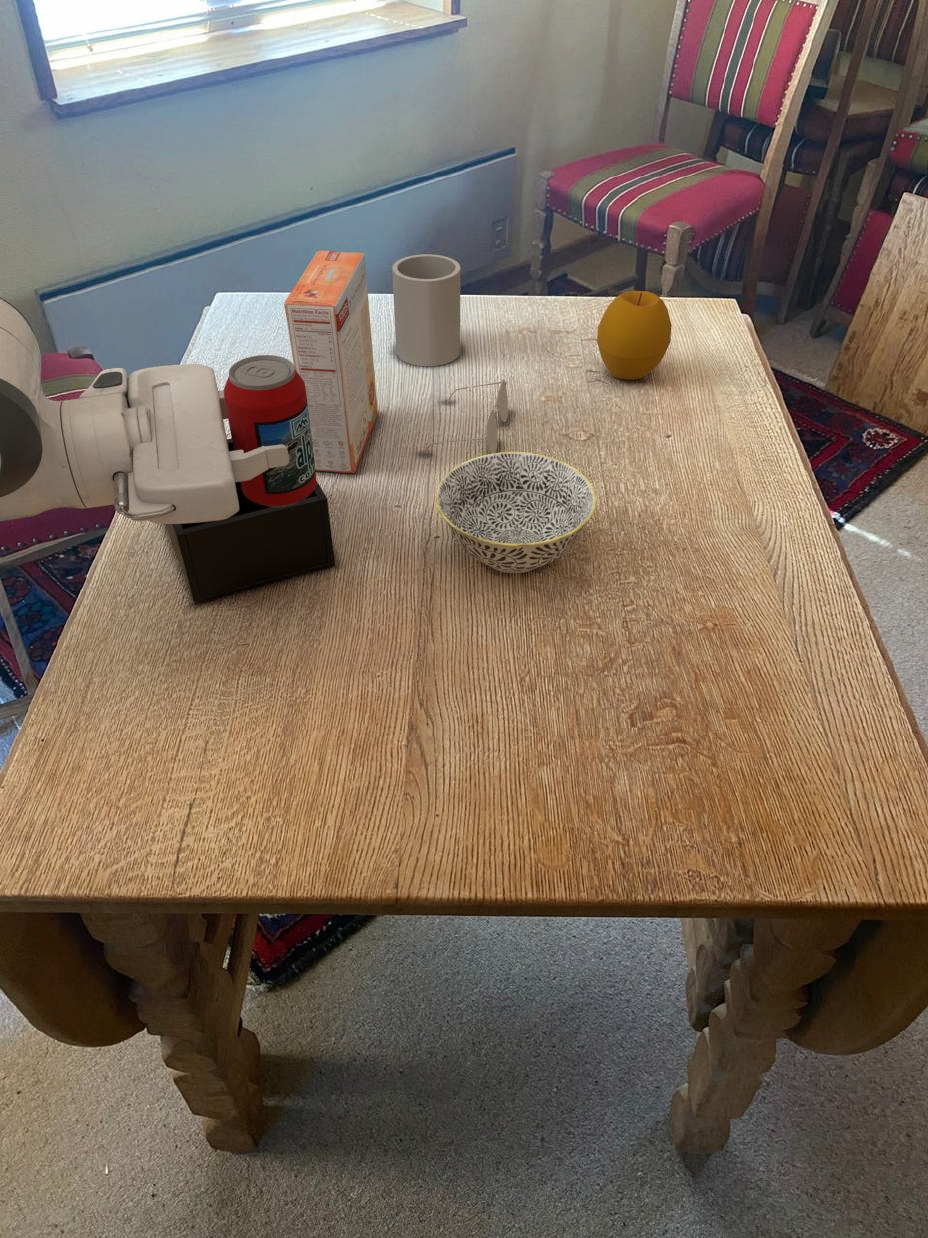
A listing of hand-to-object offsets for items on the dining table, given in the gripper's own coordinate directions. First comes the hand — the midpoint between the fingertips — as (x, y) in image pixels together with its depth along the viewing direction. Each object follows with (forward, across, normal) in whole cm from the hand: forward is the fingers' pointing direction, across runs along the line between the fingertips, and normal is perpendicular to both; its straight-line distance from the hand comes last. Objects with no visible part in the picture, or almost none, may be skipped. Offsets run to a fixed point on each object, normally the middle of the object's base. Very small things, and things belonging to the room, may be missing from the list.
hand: (280, 426), depth 78 cm
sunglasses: (+24, +25, +19) cm, 40 cm away
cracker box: (+9, +27, +19) cm, 34 cm away
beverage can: (-1, 0, +7) cm, 7 cm away
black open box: (-5, +9, +19) cm, 22 cm away
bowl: (+22, 0, +19) cm, 29 cm away
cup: (+25, +47, +19) cm, 57 cm away
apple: (+49, +33, +19) cm, 62 cm away
